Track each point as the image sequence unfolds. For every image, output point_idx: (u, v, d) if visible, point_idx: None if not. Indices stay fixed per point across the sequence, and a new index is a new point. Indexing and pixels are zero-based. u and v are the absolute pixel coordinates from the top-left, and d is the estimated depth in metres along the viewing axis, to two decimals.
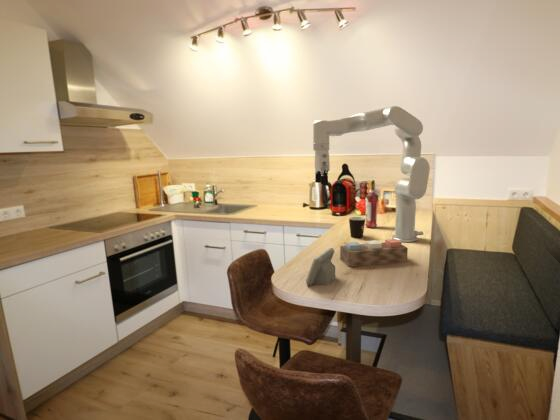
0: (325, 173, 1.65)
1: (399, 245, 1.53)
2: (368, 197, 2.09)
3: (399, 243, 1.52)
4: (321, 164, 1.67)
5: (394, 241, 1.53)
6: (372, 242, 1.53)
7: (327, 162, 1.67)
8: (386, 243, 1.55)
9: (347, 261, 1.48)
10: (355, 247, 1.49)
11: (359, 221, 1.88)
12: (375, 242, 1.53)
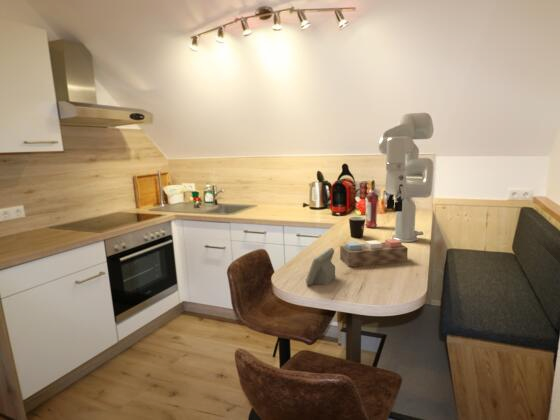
0: (401, 199, 1.46)
1: (399, 245, 1.53)
2: (368, 197, 2.09)
3: (399, 243, 1.52)
4: (397, 187, 1.45)
5: (394, 241, 1.53)
6: (372, 242, 1.53)
7: (404, 185, 1.46)
8: (386, 243, 1.55)
9: (347, 261, 1.48)
10: (355, 247, 1.49)
11: (359, 221, 1.88)
12: (375, 242, 1.53)
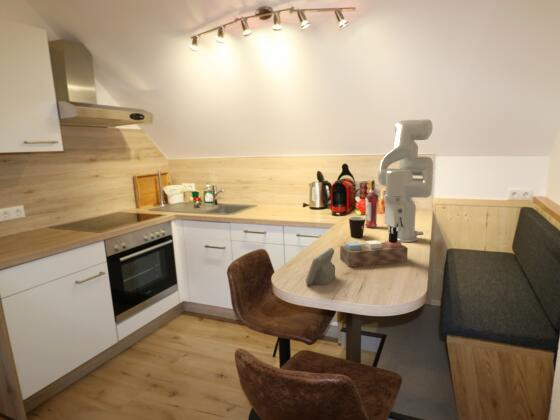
0: (396, 231, 1.51)
1: (399, 246, 1.53)
2: (368, 197, 2.09)
3: (399, 244, 1.53)
4: (396, 220, 1.48)
5: None
6: (372, 242, 1.53)
7: (403, 218, 1.48)
8: (386, 244, 1.55)
9: (347, 261, 1.48)
10: (355, 247, 1.49)
11: (359, 221, 1.88)
12: (375, 242, 1.53)
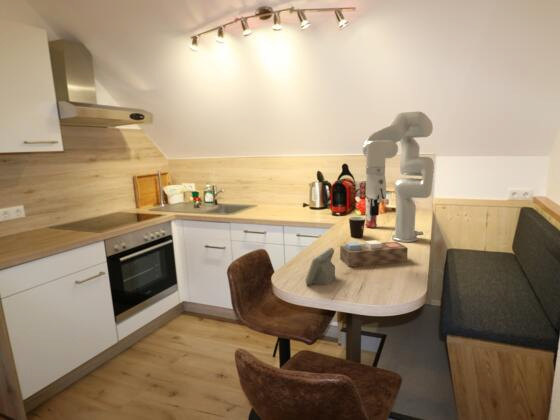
0: (377, 203, 1.47)
1: None
2: None
3: None
4: (377, 191, 1.44)
5: (394, 245, 1.54)
6: (372, 242, 1.53)
7: (384, 189, 1.44)
8: None
9: (347, 261, 1.48)
10: (355, 247, 1.49)
11: (359, 221, 1.88)
12: (375, 242, 1.53)
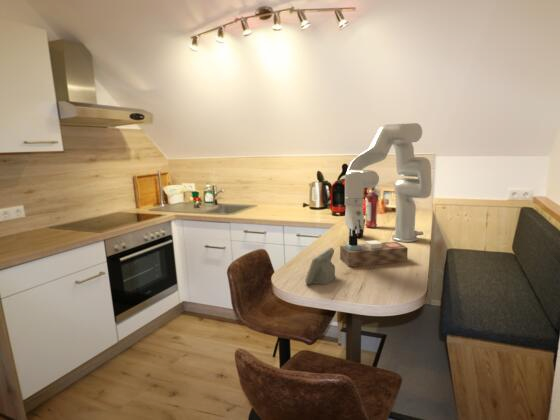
0: (355, 234, 1.48)
1: None
2: (368, 197, 2.09)
3: None
4: (354, 222, 1.45)
5: (394, 245, 1.54)
6: (372, 242, 1.53)
7: (361, 220, 1.45)
8: None
9: (347, 261, 1.48)
10: (355, 248, 1.49)
11: None
12: (375, 242, 1.53)
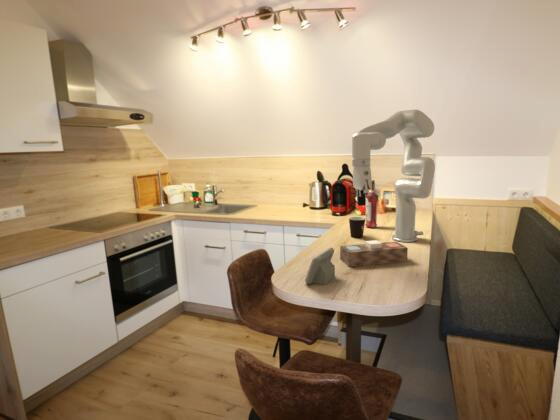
0: (363, 194, 1.53)
1: None
2: (368, 197, 2.09)
3: None
4: (363, 182, 1.50)
5: (394, 245, 1.54)
6: (372, 242, 1.53)
7: (369, 180, 1.50)
8: None
9: (347, 261, 1.48)
10: None
11: (359, 221, 1.88)
12: (375, 242, 1.53)
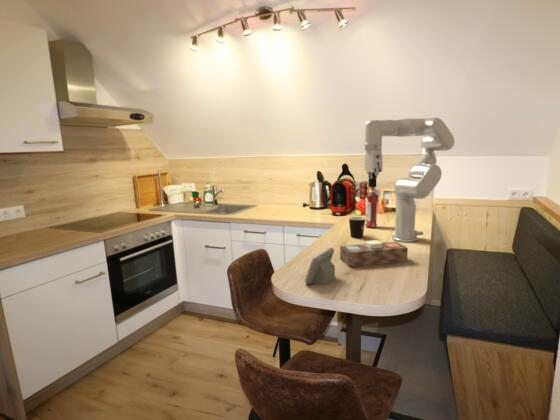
0: (374, 176, 1.66)
1: None
2: (368, 197, 2.09)
3: None
4: (374, 165, 1.63)
5: (394, 245, 1.54)
6: (372, 242, 1.53)
7: (380, 163, 1.63)
8: None
9: (347, 261, 1.48)
10: None
11: (359, 221, 1.88)
12: (375, 242, 1.53)
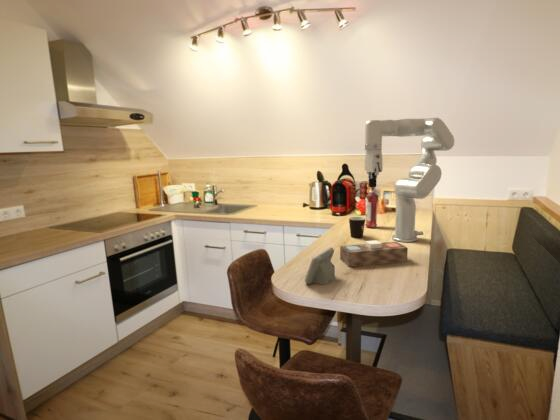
0: (374, 176, 1.66)
1: None
2: (368, 197, 2.09)
3: None
4: (374, 165, 1.63)
5: (394, 245, 1.54)
6: (372, 242, 1.53)
7: (380, 163, 1.63)
8: None
9: (347, 261, 1.48)
10: None
11: (359, 221, 1.88)
12: (375, 242, 1.53)
